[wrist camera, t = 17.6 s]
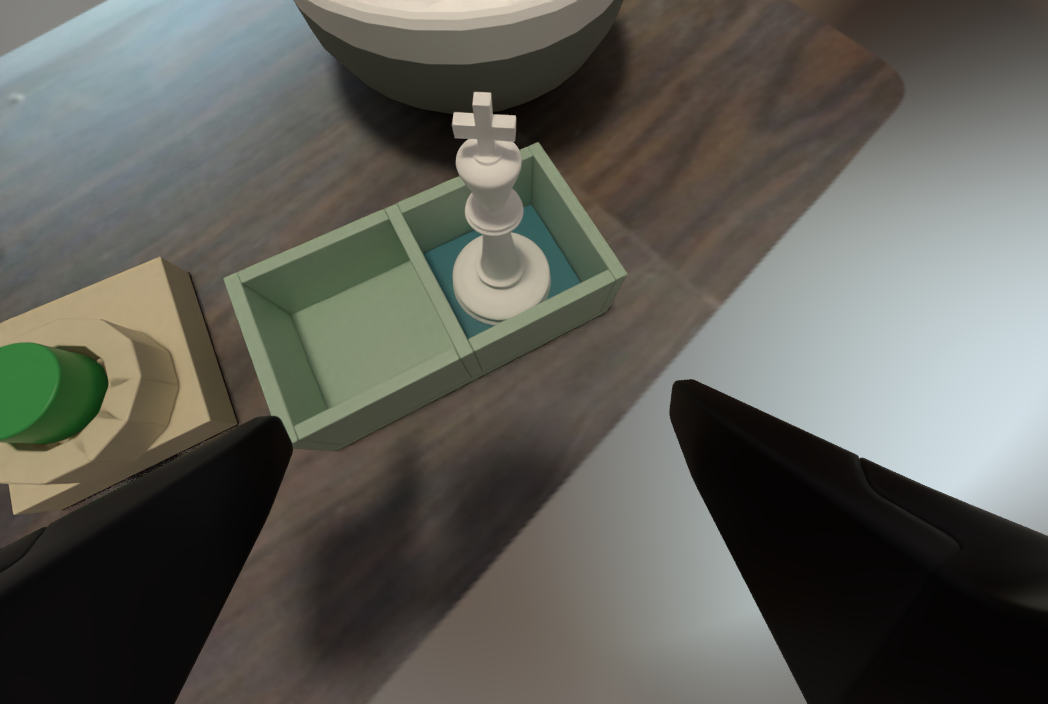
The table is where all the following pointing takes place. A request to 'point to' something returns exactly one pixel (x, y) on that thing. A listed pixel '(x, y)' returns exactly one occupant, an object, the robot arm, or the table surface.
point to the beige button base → (121, 384)
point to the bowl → (460, 46)
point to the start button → (47, 393)
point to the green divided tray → (407, 307)
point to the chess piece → (494, 221)
